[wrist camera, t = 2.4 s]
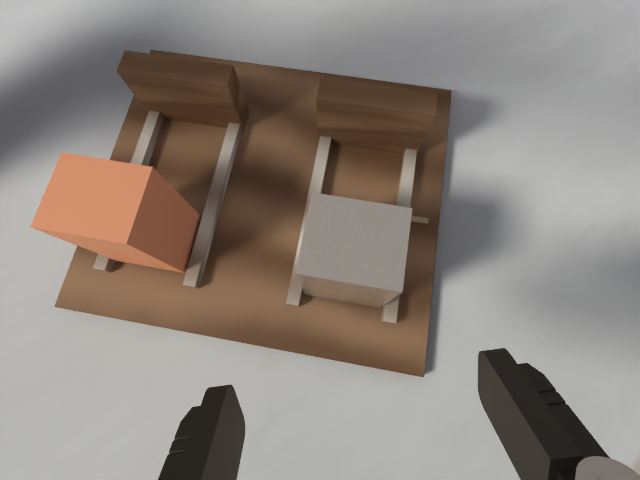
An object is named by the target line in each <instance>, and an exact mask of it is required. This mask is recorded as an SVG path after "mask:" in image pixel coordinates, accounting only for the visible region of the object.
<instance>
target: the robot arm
mask: <svg viewBox="0 0 640 480" xmlns="http://www.w3.org/2000/svg"><path fill="white" fill-rule="evenodd" d="M478 392H479V396H480V400H481V403H482V405H483V408H484V410H485V412H486V413H487V415H488V417H489V419H490V421H491V423H492V425H493V427H494V429H495V431H496V433H497V435H498V437H499V439H500V440H501V442H502V444H503V446H504V448H505V450H506V452H507V454H508V456H509V458H510V460H511V462H512V464H513V466H514V467H515V469H516V471H517V473H518V475H519V477H520V479H521V480H640V476H639V475H638V474H637V473H636V472H635V471H634V470H632V469H631V468H629V467H628V466H626V465H624V464H622V463H620V462H618V461H616V460H613V459H611V458H610V457H609V456H608V455H607V454H606V453H605V452H604V450H603V449H602V448H601V447H600V445H599V444H598V443H597V442H596V440H595V439H594V438H593V436H592V435H591V434H590V433H589V431H588V430H587V429H586V428H585V426H584V425H583V424H582V422H581V421H580V420H579V419H578V417H577V416H576V415H575V414H574V412H573V411H572V410H571V408H570V407H569V406H568V405H566V403H565V401H564V399H563V398H562V397H561V396H560V394H559V393H558V392H556V389H555V388H554V387H553V385H552V384H551V383H550V382H549V380H548V379H547V378H546V377H545V375H544V374H542V373H541V372H540V371H538V370H537V369H535V368H534V367H532V366H531V365H529V364H528V363H523V364H517V363H516V361H515V360H514V359H513V357H512V356H511V355H510V353H509V352H508V351H507V350H506V349H505V348H501V349H494V350H486V351H480V352H479V355H478ZM244 438H245V420H244V416H243V413H242V410H241V407H240V405H239V402H238V399H237V396H236V393H235V390H234V388H233V386H232V385H225V386H217V387H210V388H208V389H207V390H206V392H205V395H204V398H203V401H202V404H201V406H197V407H192V408H191V410H190V411H189V412H188V413H187V415H186V416H185V417H184V418H183V420H182V421H181V422H180V425H179V428H178V430H177V433H176V435H175V440H174V441H173V443H172V445H171V448H170V451H169V455H168V456H167V458H166V461H165V463H164V466H163V468H162V471H161V473H160V476H159V479H158V480H236V479H237V474H238V469H239V464H240V459H241V453H242V448H243V443H244Z"/></svg>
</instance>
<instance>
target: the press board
mask: <svg viewBox="0 0 640 480" xmlns="http://www.w3.org/2000/svg"><path fill="white" fill-rule="evenodd" d="M117 72H118V73H119V75H120V76H121V77H122V79H123V80H124V81H125V82H126V84H127V85H128V86H129V88H130V89H131V90H132V91H133V93H134V97H133V99H132V102H131V105H130V107H129V110H128V113H127V115H126V118H125V121H124V123H123V126H122V129H121V131H120V134H119V137H118V139H117V142H116V145H115V147H114V150H113V153H112V155H111V158H110V160H112V161H119V162H125V163H131V164H137V165H144V166H150V167H153V168H154V169H155V170H156V171H157V172H158V173H159V174H160V175H161V176H162V177H163V178H164V179H165V180H166V181H167V182H168V183H169V184H170V185H171V186H172V187H173V188H174V189H175V190H176V191H177V192H178V193H179V194H180V195H181V196H182V197H183V198H184V199H185V200H186V201H187V202H188V203H189V204H190V205H191V206H192V207H193V208H194V209H195V210H196V211H197V212H198V213H199V214H200V215H201V216H202V217H201V220H200V224H199V227H198V231H197V234H196V238H195V241H194V245H193V248H192V252H191V255H190V259H189V262H188V266H187V269H186V273H182V272H176V271H170V270H165V269H159V268H154V267H148V266H143V265H137V264H131V263H126V262H120V261H115V260H113V259H110V258H108V257H105V256H103V255H100V254H98V253H95V252H93V251H90V250H87V249H85V248H82V247H80V246H77V248H76V251H75V253H74V256H73V259H72V261H71V264H70V267H69V269H68V272H67V275H66V277H65V280H64V283H63V285H62V288H61V291H60V293H59V296H58V299H57V301H56V304H55V306H54V307H59V308H64V309H69V310H74V311H79V312H85V313H90V314H95V315H100V316H106V317H111V318H116V319H121V320H127V321H132V322H137V323H142V324H148V325H153V326H158V327H163V328H169V329H174V330H179V331H184V332H189V333H195V334H200V335H205V336H210V337H216V338H221V339H226V340H231V341H237V342H242V343H247V344H252V345H258V346H263V347H268V348H273V349H279V350H284V351H289V352H294V353H299V354H305V355H310V356H315V357H320V358H326V359H331V360H336V361H341V362H347V363H352V364H357V365H362V366H368V367H373V368H378V369H383V370H389V371H394V372H399V373H404V374H409V375H415V376H420V377H424V370H425V360H426V350H427V339H428V329H429V318H430V308H431V298H432V287H433V277H434V266H435V256H436V246H437V235H438V225H439V214H440V204H441V194H442V183H443V173H444V162H445V152H446V142H447V131H448V121H449V110H450V100H451V90H445V89H438V88H430V87H423V86H415V85H408V84H400V83H393V82H386V81H378V80H371V79H363V78H356V77H349V76H341V75H334V74H326V73H319V72H312V71H304V70H297V69H289V68H282V67H274V66H267V65H260V64H252V63H245V62H237V61H230V60H223V59H215V58H208V57H200V56H193V55H186V54H178V53H171V52H163V51H156V50H151V52H150V54H146V53H139V52H132V51H125V52H124V54H123V57H122V59H121V61H120V64H119V66H118V69H117ZM312 192H313V193H320V194H326V195H332V196H339V197H345V198H351V199H357V200H364V201H370V202H376V203H383V204H389V205H395V206H402V207H408V208H412V216H411V224H410V233H409V241H408V250H407V258H406V267H405V275H404V284H403V292H402V293H401V294H399V295H398V296H397V297H395V298H394V299H392V300H391V301H389V302H388V303H386V304H385V305H384V306H382V307H381V308H377V307H371V306H365V305H360V304H354V303H349V302H343V301H338V300H332V299H326V298H321V297H315V296H310V295H305V293H304V291H303V289H302V287H301V285H300V282H299V280H298V278H297V276H296V274H295V273H296V268H297V263H298V258H299V253H300V248H301V243H302V238H303V233H304V228H305V223H306V218H307V213H308V208H309V204H310V199H311V194H312Z"/></svg>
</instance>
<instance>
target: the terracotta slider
mask: <svg viewBox="0 0 640 480" xmlns="http://www.w3.org/2000/svg"><path fill="white" fill-rule="evenodd" d="M201 217H202V216H201V215H200V214H199V213H198V212H197V211H196V210H195V209H194V208H193V207H192V206H191V205H190V204H189V203H188V202H187V201H186V200H185V199H184V198H183V197H182V196H181V195H180V194H179V193H178V192H177V191H176V190H175V189H174V188H173V187H172V186H171V185H170V184H169V183H168V182H167V181H166V180H165V179H164V178H163V177H162V176H161V175H160V174H159V173H158V172H157V171H156V170H155V169H154V168H153V167H150V166H144V165H137V164H131V163H125V162H119V161H112V160H106V159H100V158H93V157H87V156H81V155H74V154H68V153H61V155H60V158H59V160H58V162H57V165H56V167H55V170H54V172H53V174H52V177H51V179H50V181H49V184H48V186H47V189H46V191H45V193H44V196H43V198H42V201H41V203H40V205H39V208H38V210H37V212H36V215H35V217H34V220H33V222H32V224H31V227H32V228H34V229H37V230H39V231H42V232H44V233H47V234H49V235H52V236H54V237H57V238H60V239H62V240H65V241H67V242H70V243H72V244H75V245H77V246H80V247H82V248H85V249H87V250H90V251H93V252H95V253H98V254H100V255H103V256H105V257H108V258H110V259H113V260H115V261H120V262H126V263H131V264H137V265H143V266H148V267H154V268H159V269H165V270H170V271H176V272H182V273H186V269H187V266H188V262H189V259H190V255H191V252H192V248H193V245H194V241H195V238H196V234H197V231H198V227H199V224H200V220H201Z"/></svg>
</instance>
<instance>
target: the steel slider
mask: <svg viewBox="0 0 640 480" xmlns="http://www.w3.org/2000/svg"><path fill="white" fill-rule="evenodd" d="M411 216H412V208H408V207H402V206H395V205H389V204H383V203H376V202H370V201H364V200H357V199H351V198H345V197H339V196H332V195H326V194H320V193H313V192H312V194H311V199H310V204H309V208H308V213H307V218H306V223H305V228H304V233H303V238H302V243H301V248H300V253H299V258H298V263H297V268H296V273H295V274H296V276H297V278H298V280H299V282H300V285H301V287H302V289H303V291H304V293H305V295H310V296H315V297H321V298H326V299H332V300H338V301H343V302H349V303H354V304H360V305H365V306H371V307H377V308H381V307H382V306H384V305H385V304H386V303H388V302H389V301H391V300H392V299H394V298H395V297H397V296H398V295H399V294H401V293H402V292H403V284H404V275H405V267H406V258H407V250H408V241H409V233H410V224H411Z"/></svg>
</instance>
